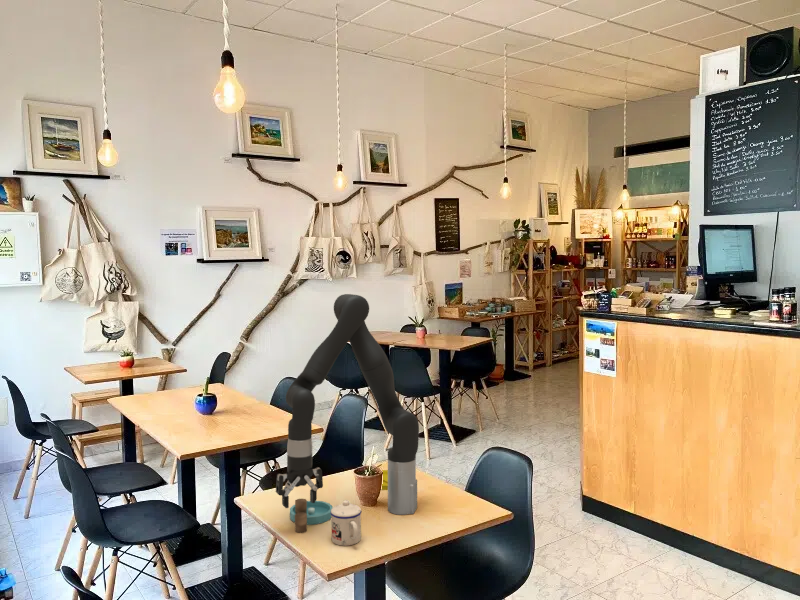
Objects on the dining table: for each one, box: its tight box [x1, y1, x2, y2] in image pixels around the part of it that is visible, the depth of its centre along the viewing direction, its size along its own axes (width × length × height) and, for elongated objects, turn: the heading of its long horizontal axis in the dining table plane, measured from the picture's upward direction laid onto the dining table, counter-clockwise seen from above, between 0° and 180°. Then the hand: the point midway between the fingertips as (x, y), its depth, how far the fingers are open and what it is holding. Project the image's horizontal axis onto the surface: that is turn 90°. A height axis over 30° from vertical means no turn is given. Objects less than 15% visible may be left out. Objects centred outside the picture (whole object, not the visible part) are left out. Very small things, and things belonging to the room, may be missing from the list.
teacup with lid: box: [330, 499, 363, 547], centre depth 188 cm, size 12×9×12 cm
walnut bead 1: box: [294, 498, 308, 514], centre depth 205 cm, size 4×4×5 cm
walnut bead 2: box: [294, 512, 308, 534], centre depth 196 cm, size 4×4×5 cm
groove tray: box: [289, 500, 334, 526], centre depth 207 cm, size 14×14×2 cm
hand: (299, 504), depth 195 cm, fingers open, 8 cm apart
